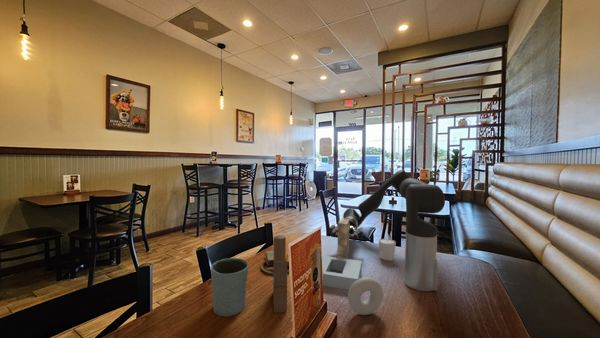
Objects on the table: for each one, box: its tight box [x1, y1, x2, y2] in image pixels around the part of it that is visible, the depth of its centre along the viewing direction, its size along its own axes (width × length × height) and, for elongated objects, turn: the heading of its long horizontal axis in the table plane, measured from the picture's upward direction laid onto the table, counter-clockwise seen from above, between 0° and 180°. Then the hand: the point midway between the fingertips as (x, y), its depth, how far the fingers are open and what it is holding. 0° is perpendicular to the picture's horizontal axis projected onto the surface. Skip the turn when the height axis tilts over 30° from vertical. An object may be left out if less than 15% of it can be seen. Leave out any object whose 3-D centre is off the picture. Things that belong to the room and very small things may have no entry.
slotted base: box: [321, 255, 363, 291], centre depth 88 cm, size 16×14×4 cm
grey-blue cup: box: [210, 257, 249, 317], centre depth 70 cm, size 10×10×12 cm
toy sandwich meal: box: [260, 249, 290, 275], centre depth 96 cm, size 12×14×5 cm
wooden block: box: [272, 234, 288, 313], centre depth 73 cm, size 4×11×18 cm, turn 7°
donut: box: [347, 276, 384, 316], centre depth 67 cm, size 10×3×10 cm, turn 104°
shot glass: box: [378, 238, 397, 261], centre depth 105 cm, size 7×7×7 cm
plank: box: [336, 217, 350, 259], centre depth 103 cm, size 4×8×16 cm, turn 162°
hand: (344, 235), depth 104 cm, fingers open, 8 cm apart
